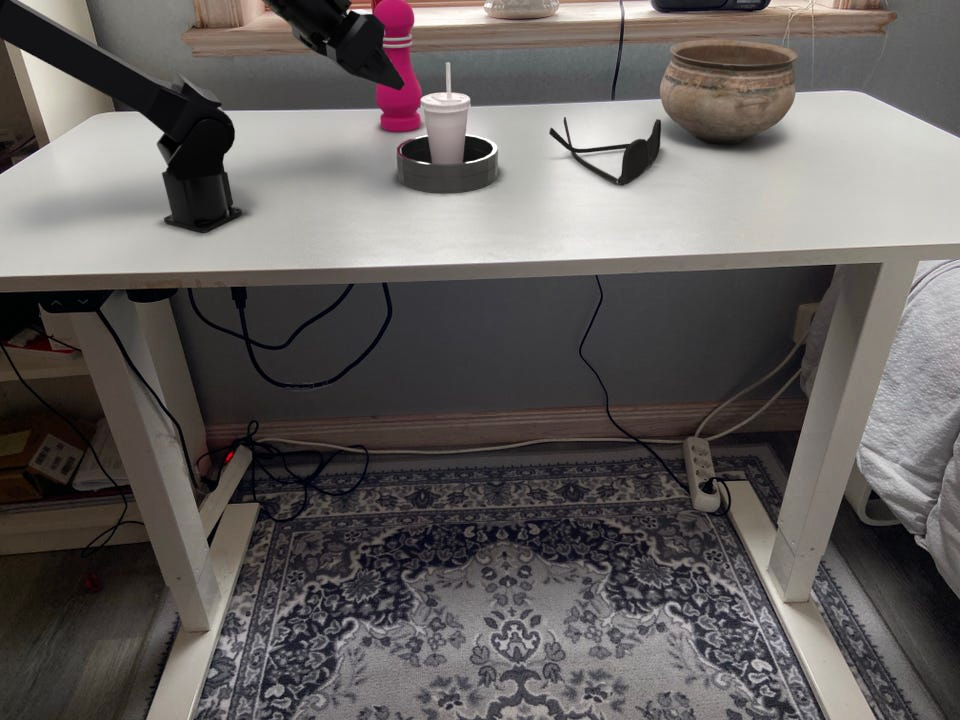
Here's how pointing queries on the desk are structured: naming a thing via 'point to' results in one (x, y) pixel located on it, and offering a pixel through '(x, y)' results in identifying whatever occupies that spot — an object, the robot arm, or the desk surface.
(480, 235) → the desk surface
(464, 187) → the pan
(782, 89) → the cooking pot
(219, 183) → the robot arm
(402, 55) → the pepper mill
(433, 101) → the smoothie
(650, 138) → the sunglasses
